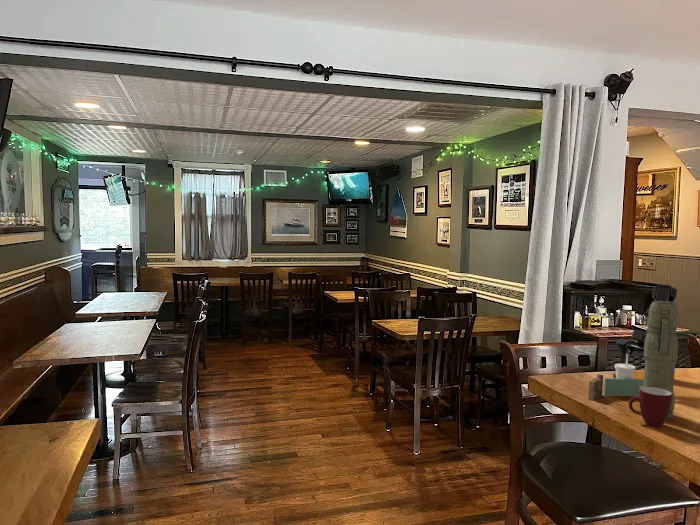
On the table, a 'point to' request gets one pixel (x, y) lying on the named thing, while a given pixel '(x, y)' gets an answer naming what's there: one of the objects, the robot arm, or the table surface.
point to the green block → (622, 386)
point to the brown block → (596, 387)
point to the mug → (653, 405)
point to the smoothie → (624, 370)
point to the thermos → (661, 348)
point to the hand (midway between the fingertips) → (634, 370)
